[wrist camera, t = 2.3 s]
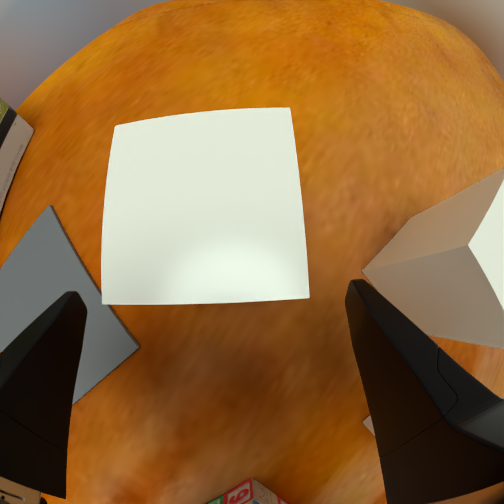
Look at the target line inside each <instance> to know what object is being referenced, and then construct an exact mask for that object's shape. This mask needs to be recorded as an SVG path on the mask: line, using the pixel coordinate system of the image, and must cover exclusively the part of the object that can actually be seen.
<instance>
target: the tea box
mask: <svg viewBox="0 0 504 504" xmlns="http://www.w3.org/2000/svg"><path fill="white" fill-rule="evenodd" d="M33 131H34V129H33V128H32V127H31V126H30V125H29V124H28V123H27V122H26V121H25V120H24V119H23V118H22V117H21V116H19V115H18V114H17V113H16V112H15V111H14V110H13V109H12V108H11V107H10V106H9V105H7V104H6V103H5V102H4V101H3V100H2V99H1V98H0V213H1V210H2V206H3V203H4V200H5V197H6V194H7V191H8V189H9V186H10V184H11V181H12V179H13V176H14V173H15V171H16V168H17V166H18V164H19V162H20V159H21V157H22V155H23V153H24V151H25V149H26V147H27V145H28V143H29V141H30V139H31V137H32V135H33V133H34V132H33Z"/></svg>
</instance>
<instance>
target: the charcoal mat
mask: <svg viewBox="0 0 504 504" xmlns="http://www.w3.org/2000/svg"><path fill="white" fill-rule="evenodd" d="M67 291H77V292H78V293H79V294H80V296H81V298H82V300H83V301H84V303H85V305H86V307H87V311H88V313H87V320H86V326H85V333H84V340H83V347H82V353H81V358H80V363H79V368H78V373H77V379H76V384H75V390H74V396H73V403H72V405H74V404H75V403H76V402H77V401H78V400H79V399H80V398H82V397H83V396H84V395H85V394H86V393H87V392H89V391H90V390H91V389H92V388H93V387H94V386H96V385H97V384H98V383H99V382H100V381H101V380H102V379H104V378H105V377H106V376H107V375H108V374H109V373H111V372H112V371H113V370H114V369H115V368H116V367H118V366H119V365H120V364H121V363H122V362H123V361H124V360H126V359H127V358H128V357H129V356H130V355H131V354H133V353H134V352H135V351H136V350H137V349H138V348H140V345H139V344H138V343H137V342H136V340H135V339H134V338H133V336H132V335H131V334H130V332H129V331H128V330H127V328H126V327H125V326H124V324H123V323H122V322H121V320H120V319H119V318H118V316H117V315H116V313H115V312H114V310H113V309H112V308H111V306H110V305H109V304H102V293H101V291H100V290H99V288H98V287H97V285H96V284H95V282H94V280H93V279H92V277H91V276H90V274H89V272H88V271H87V269H86V267H85V266H84V264H83V262H82V261H81V259H80V257H79V256H78V254H77V252H76V250H75V249H74V247H73V245H72V243H71V242H70V240H69V238H68V236H67V234H66V232H65V230H64V228H63V227H62V225H61V223H60V221H59V219H58V217H57V215H56V213H55V211H54V209H53V207H52V206H51V205H49V206H48V207H47V208H46V209H45V210H44V212H43V213H42V214H41V215H40V216H39V218H38V219H37V220H36V221H35V222H34V224H33V225H32V226H31V227H30V229H29V230H28V231H27V233H26V234H25V235H24V236H23V238H22V239H21V240H20V242H19V243H18V244H17V246H16V247H15V249H14V250H13V251H12V253H11V254H10V256H9V257H8V258H7V260H6V261H5V263H4V264H3V266H2V267H1V269H0V351H1V352H2V351H3V350H4V349H5V348H6V347H7V346H8V345H9V344H10V343H11V342H12V341H13V340H14V339H15V338H16V337H17V336H18V335H19V334H20V333H21V332H22V331H23V330H24V329H25V328H26V327H27V326H29V325H30V324H31V323H32V322H33V321H34V320H35V319H36V318H37V317H38V316H39V315H40V314H41V313H43V312H44V311H45V310H46V309H47V308H48V307H49V306H50V305H52V304H53V303H54V302H55V301H56V300H57V299H58V298H59V297H61V296H62V295H63V294H64V293H65V292H67Z"/></svg>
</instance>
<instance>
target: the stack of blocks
mask: <svg viewBox="0 0 504 504" xmlns="http://www.w3.org/2000/svg"><path fill="white" fill-rule="evenodd" d="M207 504H289V503H287V502H286V501H284V500H283V499H281V498H280V497H278V496H276V495H275V494H274V493H273V492H271V491H270V490H269V489H267V488H266V487H264V486H263V485H262V484H260V483H259V482H257V481H256V480H255V479H253V478H250V479H249V480H247V481H245V482H244V483H242V484H240V485H239V486H237V487H235V488H234V489H232V490H230V491H229V492H227V493H225V494H224V495H223V496H221V497H219V498H217V499H215V500H213V501H211V502H209V503H207Z"/></svg>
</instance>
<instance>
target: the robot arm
mask: <svg viewBox="0 0 504 504" xmlns="http://www.w3.org/2000/svg"><path fill="white" fill-rule="evenodd" d="M345 306H346V312H347V317H348V323H349V328H350V334H351V340H352V346H353V350H354V354H355V357H356V361H357V364H358V368H359V372H360V375H361V379H362V383H363V387H364V391H365V395H366V399H367V403H368V407H369V411H370V416H371V420H372V424H373V429H374V433H375V438H376V443H377V447H378V452H379V457H380V463H381V469H382V474H383V480H384V486H385V492H386V498H387V504H504V399H503V398H500V397H499V396H497V395H495V394H494V393H493V392H492V391H490V390H489V389H488V388H487V387H485V386H484V385H483V384H482V383H481V382H479V381H478V380H477V379H476V378H474V377H473V376H472V375H471V374H469V373H468V372H467V371H466V370H465V369H463V368H462V367H461V366H460V365H459V364H458V363H456V362H455V361H454V360H453V359H452V358H451V357H450V356H449V355H448V354H447V353H446V352H445V351H443V350H442V349H441V348H440V347H438V345H437V344H436V343H435V342H434V341H433V340H432V339H431V338H429V337H428V336H427V335H426V334H425V333H424V332H423V331H422V330H421V329H420V328H419V327H418V326H416V325H415V324H414V323H413V322H412V321H411V320H410V319H409V318H408V317H406V316H405V315H404V314H403V313H402V312H401V311H400V310H399V309H397V308H396V307H395V306H394V305H393V304H392V303H391V302H389V301H388V300H387V299H386V298H385V297H384V296H383V295H381V294H380V293H379V292H378V291H377V290H376V289H374V288H373V287H372V286H371V285H370V284H369V283H367V282H366V281H365V280H363V279H354V280H351V281H350V283H349V286H348V290H347V294H346V297H345ZM87 313H88V311H87V307H86V305H85V303H84V301H83V300H82V298H81V296H80V294H79V293H78V292H77V291H67V292H65V293H64V294H63V295H62V296H61V297H59V298H58V299H57V300H56V301H55V302H54V303H53V304H52V305H50V306H49V307H48V308H47V309H46V310H45V311H44V312H43V313H41V314H40V315H39V316H38V317H37V318H36V319H35V320H34V321H33V322H32V323H31V324H30V325H29V326H27V327H26V328H25V329H24V330H23V331H22V332H21V333H20V334H19V335H18V336H17V337H16V338H15V339H14V340H13V341H12V342H11V343H10V344H9V345H8V346H7V347H6V348H5V349H4V350H3V351H2V352H1V353H0V504H47V502H46V500H45V498H43V497H41V492H42V493H45V494H49V495H52V496H56V497H59V498H63V499H66V468H67V448H68V436H69V426H70V417H71V410H72V403H73V396H74V390H75V384H76V379H77V373H78V368H79V363H80V358H81V353H82V347H83V340H84V333H85V326H86V320H87Z"/></svg>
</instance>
